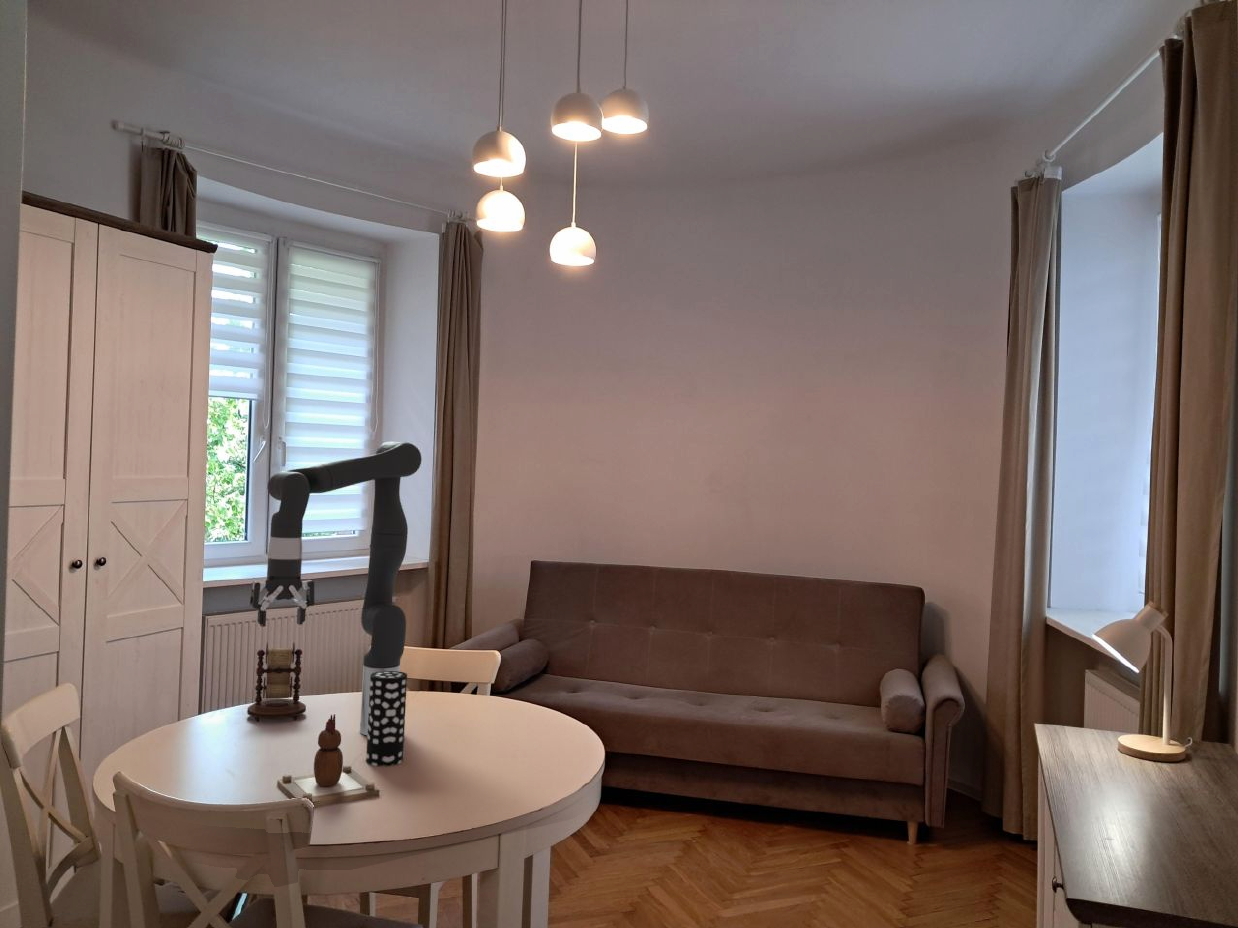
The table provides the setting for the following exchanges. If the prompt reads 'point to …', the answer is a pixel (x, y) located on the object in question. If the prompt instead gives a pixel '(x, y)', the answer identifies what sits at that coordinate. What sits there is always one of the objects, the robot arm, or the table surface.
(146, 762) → the table surface
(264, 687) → the scroll
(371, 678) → the spotted tube
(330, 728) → the wooden figurine
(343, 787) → the base plate
